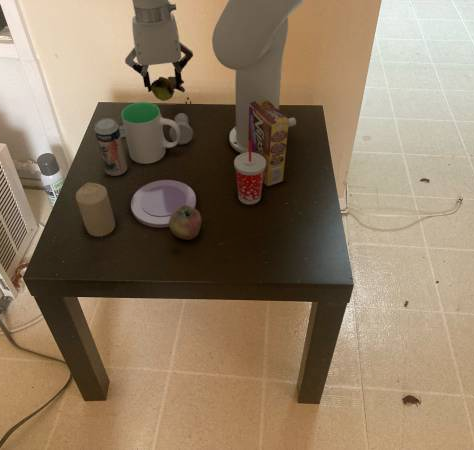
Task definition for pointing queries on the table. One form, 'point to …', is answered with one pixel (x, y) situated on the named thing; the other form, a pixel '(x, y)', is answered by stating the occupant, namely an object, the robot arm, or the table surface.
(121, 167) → the canister with white lid
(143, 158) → the mug
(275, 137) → the candy box
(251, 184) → the beverage cup
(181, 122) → the chess piece
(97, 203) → the candle
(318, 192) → the table surface
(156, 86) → the toy
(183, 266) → the table surface
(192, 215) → the apple
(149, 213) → the dish
